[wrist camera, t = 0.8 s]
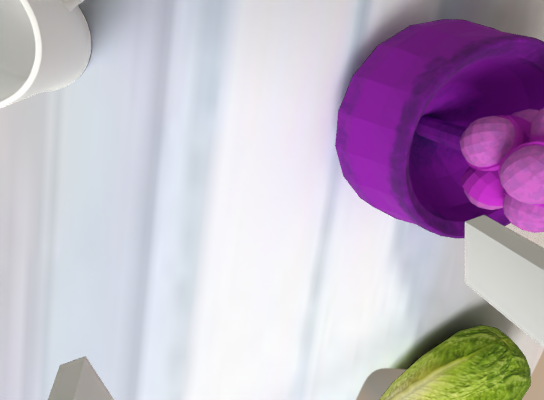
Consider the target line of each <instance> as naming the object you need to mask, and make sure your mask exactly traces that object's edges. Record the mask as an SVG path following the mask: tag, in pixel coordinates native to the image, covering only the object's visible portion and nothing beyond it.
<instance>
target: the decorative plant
mask: <svg viewBox="0 0 544 400" xmlns="http://www.w3.org/2000/svg"><path fill="white" fill-rule="evenodd" d="M335 146H336V150H337V154H338V157H339V161H340V165H341V169H342V172H343V176H344V177H345V179H346V180H347V181H348V183H349V184H350V185H351V186H352V188H353V189H354V190H355V192H356V193H357V194H358V196H359V197H360V198H361V199H363V200H364V201H366V202H367V203H369V204H370V205H371V206H373V207H375V208H377V209H379V210H381V211H382V212H384V213H386V214H388V215H390V216H392V217H394V218H396V219H399V220H403V221H406V222H410V223H414V224H417V225H418V226H420V227H422V228H424V229H426V230H428V231H430V232H433V233H435V234H438V235H440V236H445V237H451V238H465V221H468V220H471V219H474V218H476V217H479V216H482V215H485V216H487V217H489V218H491V219H492V220H494V221H496V222H498V223H500V224H501V225H503V226H506V225H508V224H510V223H512V224H513V225H515V226H517V227H518V228H520V229H522V230H526V231H530V232H534V233H535V232H544V42H543V41H541V40H539V39H536V38H532V37H527V36H521V35H516V34H510V33H505V32H501V31H498V30H496V29H493V28H490V27H487V26H483V25H480V24H476V23H473V22H469V21H465V20H451V19H443V20H437V21H432V22H426V23H421V24H416V25H410V26H409V27H407V28H405V29H404V30H402V31H401V32H399V33H397V34H396V35H394V36H392V37H391V38H389V39H388V40H386V41H384V42H383V43H381V44H380V45H378V46H377V47H376V49H375V50H374V51H373V52H372V54H371V55H370V56H369V57H368V58H367V60H366V61H365V62H364V63H363V64H362V66H361V67H360V68H359V69H358V70H357V72H356V73H355V74H354V75H353V77H352V80H351V82H350V85H349V87H348V89H347V92H346V94H345V97H344V99H343V101H342V104H341V106H340V109H339V111H338V122H337V134H336V145H335Z"/></svg>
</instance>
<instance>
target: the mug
mask: <svg viewBox="0 0 544 400" xmlns="http://www.w3.org/2000/svg"><path fill="white" fill-rule="evenodd" d="M83 1H84V0H0V108H2V107H5V106H8V105H10V104H13V103H16V102H18V101H21V100H23V99H26V98H29V97H31V96H34V95H36V94H39V93H42V92H45V91H54V90H58V89H61V88H64V87H66V86H68V85H70V84H71V83H73V82H74V81H75V80H77V79H78V78H79V77H80V76H81V74H82V73H83V72H84V70H85V68H86V67H87V64H88V62H89V59H90V55H91V35H90V31H89V27H88V24H87V21H86V19H85V17H84V15H83V13H82V11H81V10H80V8H79V7H78V5H79V4H80V3H82V2H83Z"/></svg>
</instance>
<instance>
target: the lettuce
mask: <svg viewBox="0 0 544 400" xmlns="http://www.w3.org/2000/svg"><path fill="white" fill-rule="evenodd" d="M530 383H531V376H530V368H529V365H528V362H527V360H526V357H525V356H524V354H523V353H522V352H521V350H520V349H519V348H518V346H517V345H516V344H515V343H514V342H513V341H512V340H511V339H510V338H509V337H508V336H507V335H505V334H504V333H503V332H501V331H500V330H499V329H497V328H494V327H489V326H483V325H479V326H476V327H472V328H468V329H464V330H461V331H458V332H457V333H455V334H454V335H452V336H451V337H449V338H448V339H446V340H445V341H444V342H442V343H441V344H439V345H438V346H436V347H435V348H433V349H432V350H430V351H429V352H427V353H426V354H424V355H423V356H421V357H420V358H419V359H418V360H417V361H416V362H415V363H414V364H412V365H411V366H410V367H409V368H408V369H407V370H406V371H405V372H404V373H403V374H401V375H400V376H399V377H398V378H397V379H396V380H395V381H394V382H393V383H392V384H391V385H390V387H389V388H388V389H387V390H386V392H385V393H384V394H383V395H382V397H381V398H380V400H522V398H523V396H524V395H525V393H526V392H527V390H528V389H529V387H530Z"/></svg>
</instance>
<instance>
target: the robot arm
mask: <svg viewBox="0 0 544 400" xmlns="http://www.w3.org/2000/svg"><path fill="white" fill-rule="evenodd" d="M465 284H467V285H468V286H469V287H470V288H471V289H473V290H474V291H475V292H476V293H477V294H479V295H480V296H481V297H482V298H483V299H485V300H486V301H487V302H488V303H489V304H491V305H492V306H493V307H494V308H496V309H497V310H498V311H499V312H500V313H502V314H503V315H504V316H505V317H506V318H508V319H509V320H510V321H511V322H512V323H514V324H515V325H516V326H517V327H518V328H520V329H521V330H522V331H523V332H525V333H526V334H527V335H528V336H529V337H531V338H532V339H533V340H534V341H535V342H537V343H538V344H539V345H540V346H541V347H543V348H544V248H543V247H541V246H539V245H537V244H535V243H534V242H532V241H530V240H528V239H526V238H525V237H523V236H521V235H519V234H517V233H516V232H514V231H512V230H510V229H509V228H507V227H505V226H503V225H501V224H500V223H498V222H496V221H494V220H492V219H491V218H489V217H487V216H485V215H482V216H479V217H476V218H474V219H471V220H468V221H465ZM48 400H114V399H113V398H112V396H111V395H110V393H109V392H108V390H107V388H106V387H105V385H104V384H103V382H102V381H101V379H100V378H99V376H98V375H97V373H96V372H95V370H94V368H93V367H92V365H91V364H90V362H89V361H88V359H87V358H86V356H85V357H82V358H79V359H76V360H73V361H71V362H68V363H65V364H62V365H60V367H59V370H58V372H57V375H56V378H55V381H54V384H53V387H52V390H51V392H50V395H49V398H48Z"/></svg>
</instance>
